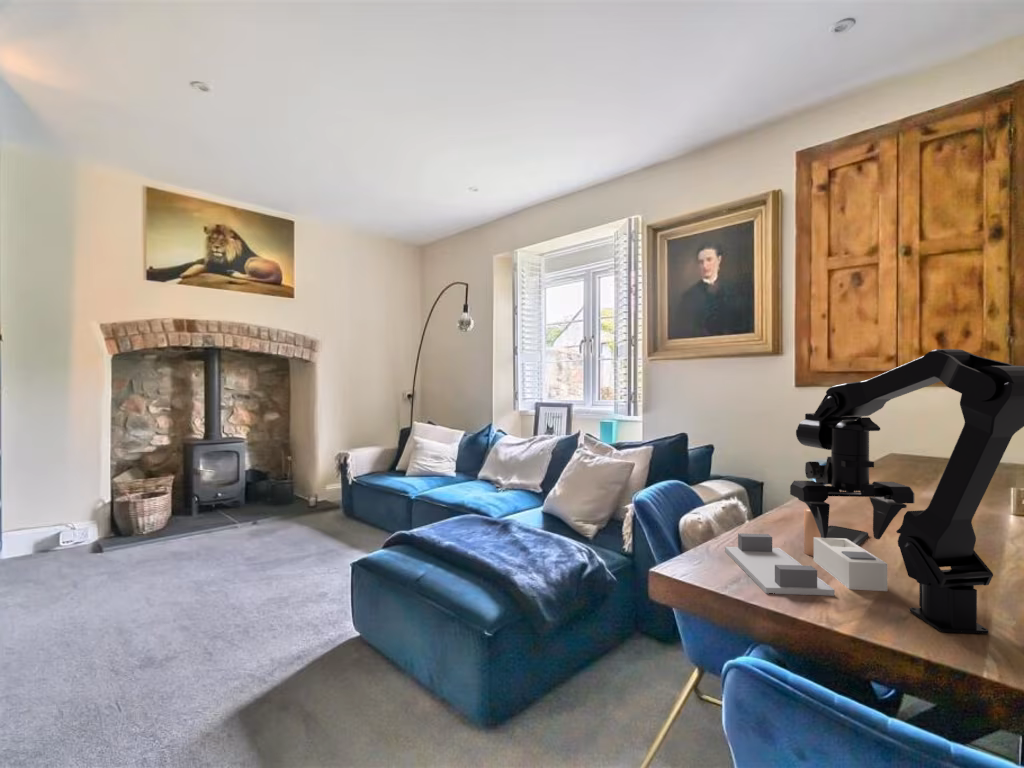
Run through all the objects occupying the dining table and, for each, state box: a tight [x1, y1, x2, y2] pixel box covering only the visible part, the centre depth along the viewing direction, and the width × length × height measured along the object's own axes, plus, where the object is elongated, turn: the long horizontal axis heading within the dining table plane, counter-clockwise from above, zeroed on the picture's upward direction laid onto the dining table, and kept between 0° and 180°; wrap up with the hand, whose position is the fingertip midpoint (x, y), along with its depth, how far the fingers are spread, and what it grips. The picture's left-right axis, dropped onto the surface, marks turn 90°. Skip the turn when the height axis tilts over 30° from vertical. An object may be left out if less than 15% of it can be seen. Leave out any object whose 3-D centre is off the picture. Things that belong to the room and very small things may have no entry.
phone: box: [821, 525, 869, 547], centre depth 109 cm, size 8×1×15 cm
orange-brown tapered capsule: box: [803, 507, 821, 557], centre depth 100 cm, size 3×3×9 cm
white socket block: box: [813, 537, 888, 592], centre depth 89 cm, size 13×6×5 cm, turn 171°
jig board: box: [724, 532, 835, 597], centre depth 91 cm, size 20×11×4 cm, turn 175°
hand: (850, 538), depth 89 cm, fingers open, 9 cm apart
